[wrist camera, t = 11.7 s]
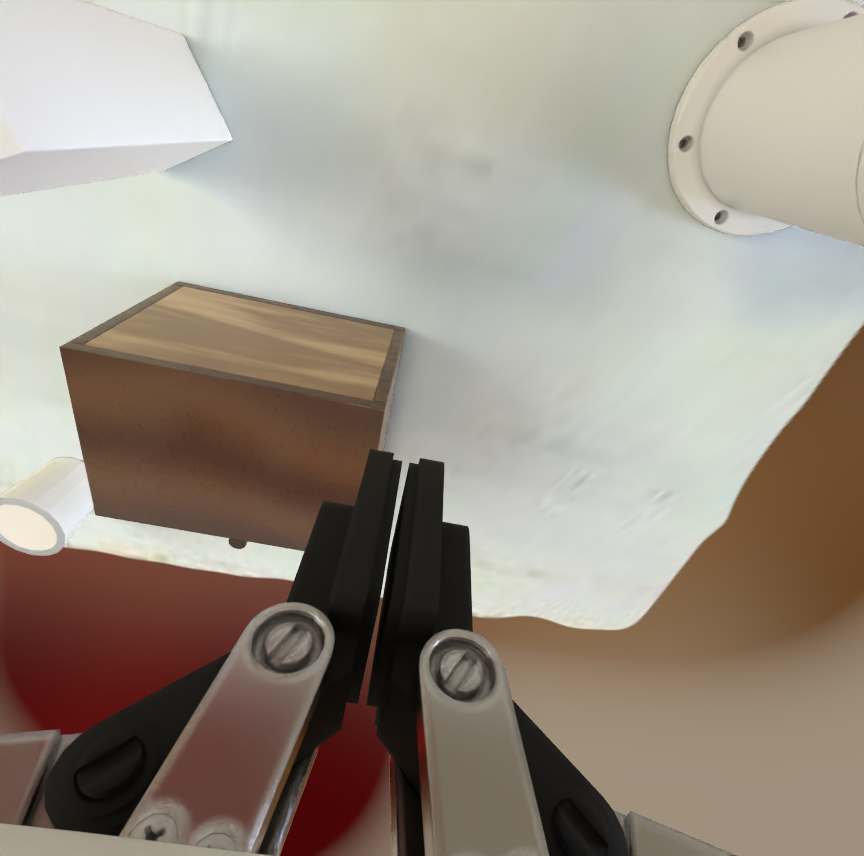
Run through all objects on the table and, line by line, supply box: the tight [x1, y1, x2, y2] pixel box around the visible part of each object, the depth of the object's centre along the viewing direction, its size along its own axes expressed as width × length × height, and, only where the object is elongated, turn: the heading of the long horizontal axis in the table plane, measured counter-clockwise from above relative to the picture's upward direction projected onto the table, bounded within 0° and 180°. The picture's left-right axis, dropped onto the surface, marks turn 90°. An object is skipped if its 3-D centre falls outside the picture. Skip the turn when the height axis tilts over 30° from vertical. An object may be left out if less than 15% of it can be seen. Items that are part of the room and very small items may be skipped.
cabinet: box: [60, 282, 405, 551], centre depth 36 cm, size 12×18×13 cm
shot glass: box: [0, 457, 94, 556], centre depth 46 cm, size 7×7×7 cm
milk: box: [0, 0, 233, 196], centre depth 23 cm, size 6×6×22 cm
